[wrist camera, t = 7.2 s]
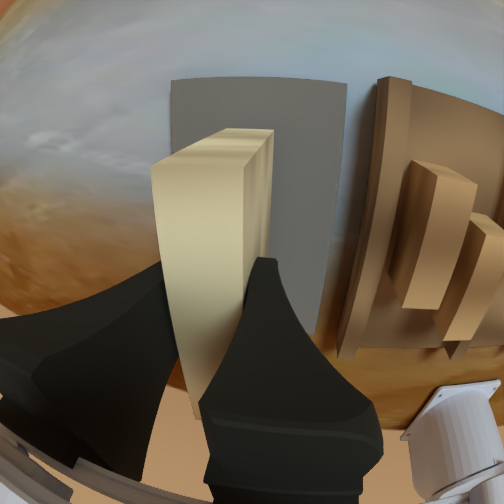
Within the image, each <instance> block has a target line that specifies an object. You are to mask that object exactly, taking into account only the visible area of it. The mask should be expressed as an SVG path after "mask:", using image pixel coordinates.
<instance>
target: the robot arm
mask: <svg viewBox="0 0 504 504" xmlns="http://www.w3.org/2000/svg"><path fill="white" fill-rule="evenodd" d="M178 356H179V352H178V348H177V343H176V339H175V334H174V329H173V324H172V319H171V314H170V309H169V303H168V298H167V292H166V287H165V281H164V275H163V268H162V262H161V261H159V262H157V263H156V264H154V265H152V266H150V267H149V268H147V269H145V270H143V271H142V272H140V273H138V274H136V275H134V276H132V277H130V278H129V279H127V280H125V281H123V282H121V283H119V284H117V285H115V286H113V287H111V288H109V289H107V290H104V291H102V292H100V293H97V294H95V295H93V296H90V297H88V298H85V299H82V300H79V301H76V302H73V303H70V304H67V305H64V306H61V307H58V308H54V309H50V310H47V311H42V312H38V313H34V314H29V315H23V316H16V317H10V318H2V319H0V393H1V394H2V395H3V397H2V398H1V400H0V504H72V503H70V498H71V496H72V494H73V490H72V488H70V487H68V486H67V485H65V484H64V483H62V482H61V481H60V480H58V479H57V478H55V477H54V476H53V475H51V474H50V473H49V472H47V471H46V470H45V469H44V468H42V467H41V466H40V465H39V464H38V463H36V462H35V461H34V460H32V459H31V458H30V457H29V454H28V452H29V453H30V454H31V455H33V456H35V457H36V458H38V459H39V460H41V461H42V462H44V463H45V464H47V465H49V466H50V467H52V468H54V469H55V470H57V471H59V472H61V473H62V474H64V475H66V476H68V477H69V478H71V479H73V480H75V481H77V482H79V483H81V484H83V485H85V486H87V487H89V488H91V489H93V490H95V491H97V492H99V493H101V494H103V495H106V496H108V497H110V498H112V499H115V500H117V501H120V502H122V503H125V504H359V495H361V494H362V492H363V476H365V475H366V474H367V473H368V472H369V471H370V470H371V469H372V468H373V467H374V466H375V465H376V464H377V463H378V462H379V460H380V459H381V457H382V456H383V437H382V431H381V428H380V424H379V420H378V417H377V414H376V411H375V408H374V405H373V403H372V402H371V401H370V400H369V399H368V398H367V397H365V396H364V395H363V394H362V393H361V392H360V391H358V390H357V389H356V388H355V387H354V386H353V385H351V384H350V383H349V382H348V381H347V380H346V379H345V378H344V377H343V376H342V375H341V374H340V373H339V372H338V371H337V370H336V369H335V368H334V367H333V366H332V365H331V364H330V362H329V361H328V360H327V359H326V358H325V356H324V355H323V354H322V353H321V352H320V350H319V349H318V348H317V347H316V345H315V344H314V343H313V341H312V340H311V338H310V337H309V336H308V334H307V333H306V331H305V329H304V328H303V326H302V325H301V323H300V321H299V320H298V318H297V316H296V314H295V312H294V310H293V308H292V306H291V304H290V302H289V300H288V298H287V295H286V292H285V290H284V287H283V285H282V282H281V278H280V274H279V270H278V261H277V260H276V259H275V258H266V257H257V258H256V260H255V262H254V264H253V267H252V269H251V275H250V281H249V288H248V294H247V300H246V304H245V308H244V311H243V313H242V316H241V319H240V321H239V324H238V327H237V329H236V331H235V334H234V336H233V338H232V341H231V343H230V345H229V347H228V350H227V352H226V354H225V356H224V358H223V360H222V362H221V364H220V366H219V368H218V370H217V371H216V373H215V375H214V377H213V378H212V380H211V382H210V383H209V385H208V387H207V389H206V390H205V392H204V394H203V395H202V397H201V398H200V400H199V401H198V406H199V410H200V415H201V419H202V423H203V428H204V432H205V436H206V440H207V444H208V448H209V452H210V458H209V461H208V464H207V468H206V472H205V475H204V480H203V482H204V483H206V484H208V486H209V488H210V491H211V493H212V496H213V498H214V501H213V503H212V502H208V501H203V500H198V499H194V498H190V497H186V496H182V495H179V494H175V493H171V492H168V491H164V490H161V489H158V488H155V487H152V486H149V485H146V484H143V483H140V481H141V479H142V474H143V468H144V463H145V458H146V453H147V449H148V445H149V441H150V436H151V433H152V429H153V425H154V421H155V418H156V415H157V411H158V408H159V404H160V401H161V398H162V395H163V392H164V389H165V386H166V383H167V380H168V378H169V376H170V373H171V371H172V369H173V367H174V365H175V363H176V360H177V358H178ZM500 384H501V382H500V380H493V381H486V382H479V383H470V384H461V385H451V386H442V387H439V388H438V389H437V390H436V391H435V393H434V394H433V396H432V397H431V398H430V400H429V401H428V403H427V404H426V405H425V407H424V408H423V409H422V411H421V412H420V413H419V414H418V416H417V417H416V418H415V420H414V421H413V422H412V423H411V425H410V426H409V427H408V428H407V429H406V431H405V432H404V433H403V434H402V435H401V436H400V440H401V441H407V440H408V445H409V452H410V460H411V469H412V478H413V485H414V488H415V490H416V492H417V493H418V494H419V496H421V497H422V498H423V499H425V501H426V503H421V504H504V449H503V446H502V441H501V438H500V435H499V431H498V428H497V425H496V422H495V419H494V416H493V413H492V410H491V407H490V404H489V401H488V399H489V398H490V397H491V396H492V395H493V393H494V392H495V391H496V390H497V388H498V387H499V386H500Z"/></svg>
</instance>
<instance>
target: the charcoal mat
mask: <svg viewBox="0 0 504 504" xmlns="http://www.w3.org/2000/svg"><path fill="white" fill-rule="evenodd" d="M346 94H347V84H346V83H338V82H330V81H321V80H310V79H298V78H280V77H211V78H194V79H181V80H171V130H172V154H174V153H176V152H178V151H180V150H182V149H184V148H186V147H188V146H190V145H192V144H194V143H196V142H198V141H200V140H202V139H204V138H207V137H209V136H211V135H213V134H215V133H217V132H220V131H222V130H224V129H226V128H239V129H267V130H274V146H273V171H272V194H271V215H270V235H269V254H268V258H275V259H276V260H277V261H278V270H279V274H280V278H281V282H282V285H283V287H284V290H285V292H286V295H287V298H288V300H289V302H290V304H291V306H292V308H293V310H294V312H295V314H296V316H297V318H298V320H299V321H300V323H301V325H302V326H303V328H304V329H305V331H306V333H307V334H314V332H315V327H316V323H317V318H318V313H319V308H320V303H321V297H322V292H323V287H324V281H325V275H326V270H327V264H328V258H329V251H330V245H331V239H332V232H333V225H334V218H335V211H336V203H337V195H338V187H339V178H340V169H341V159H342V149H343V137H344V125H345V111H346Z"/></svg>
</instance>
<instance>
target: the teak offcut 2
mask: <svg viewBox="0 0 504 504" xmlns="http://www.w3.org/2000/svg"><path fill="white" fill-rule="evenodd" d="M503 272H504V230H503V229H502V228H501V227H500V226H499V225H497V224H496V223H495V222H494V221H493V220H491V219H490V218H489V217H488V216H486V215H483V214H478V213H474V212H471V216H470V220H469V223H468V227H467V230H466V234H465V237H464V241H463V244H462V247H461V250H460V253H459V256H458V259H457V262H456V265H455V268H454V271H453V273H452V276H451V279H450V282H449V284H448V287H447V289H446V292H445V294H444V297H443V299H442V302H441V304H440V307H439V309H438V310H436V309H429V311H430V313H431V315H432V317H433V320H434V322H435V324H436V326H437V329H438V331H439V333H440V335H441V338H442V340H443V341H453V340H471V339H472V337H473V335H474V333H475V331H476V330H477V328H478V326H479V324H480V322H481V320H482V318H483V316H484V314H485V312H486V310H487V308H488V306H489V304H490V302H491V300H492V297H493V295H494V293H495V291H496V288H497V286H498V284H499V281H500V279H501V277H502V274H503Z"/></svg>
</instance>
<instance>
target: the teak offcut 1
mask: <svg viewBox="0 0 504 504" xmlns="http://www.w3.org/2000/svg"><path fill="white" fill-rule="evenodd" d="M477 186H478V185H477V184H476V183H474V182H472V181H471V180H469V179H467V178H465V177H464V176H462V175H460V174H459V173H457V172H455V171H453V170H451V169H450V168H448V167H444V166H440V165H435V164H431V163H426V162H421V161H416V160H412V161H411V168H410V174H409V180H408V186H407V192H406V197H405V202H404V207H403V212H402V217H401V222H400V226H399V230H398V235H397V239H396V243H395V247H394V251H393V255H392V259H391V263H390V266H389V270H388V274H389V277H390V279H391V282H392V284H393V287H394V289H395V292H396V294H397V297H398V299H399V302H400V305H401V307H402V308H414V309H436V310H438V309H439V307H440V304H441V302H442V299H443V297H444V294H445V292H446V289H447V287H448V284H449V282H450V279H451V276H452V273H453V271H454V268H455V265H456V262H457V259H458V256H459V253H460V250H461V247H462V244H463V241H464V237H465V234H466V230H467V227H468V223H469V220H470V216H471V212H472V208H473V204H474V200H475V196H476V191H477Z"/></svg>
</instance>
